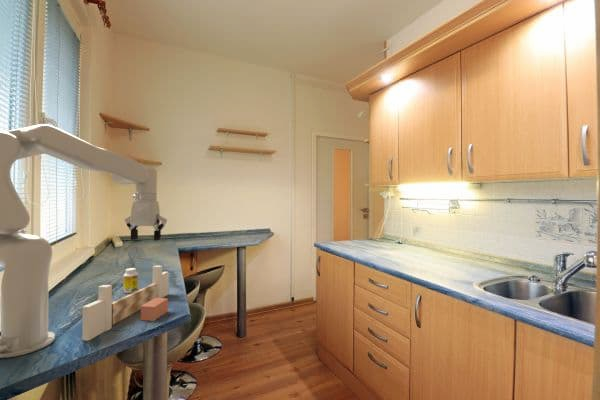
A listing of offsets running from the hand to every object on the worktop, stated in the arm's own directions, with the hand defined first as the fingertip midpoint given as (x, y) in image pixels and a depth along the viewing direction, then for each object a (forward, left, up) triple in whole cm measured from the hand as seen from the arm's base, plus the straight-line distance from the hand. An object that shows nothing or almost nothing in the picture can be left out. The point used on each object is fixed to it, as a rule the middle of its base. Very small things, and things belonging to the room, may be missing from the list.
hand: (145, 239), depth 111 cm
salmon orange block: (-11, -12, -26) cm, 30 cm away
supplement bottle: (+11, +15, -26) cm, 32 cm away
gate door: (-10, -3, -25) cm, 27 cm away
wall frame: (-9, -3, -26) cm, 27 cm away
